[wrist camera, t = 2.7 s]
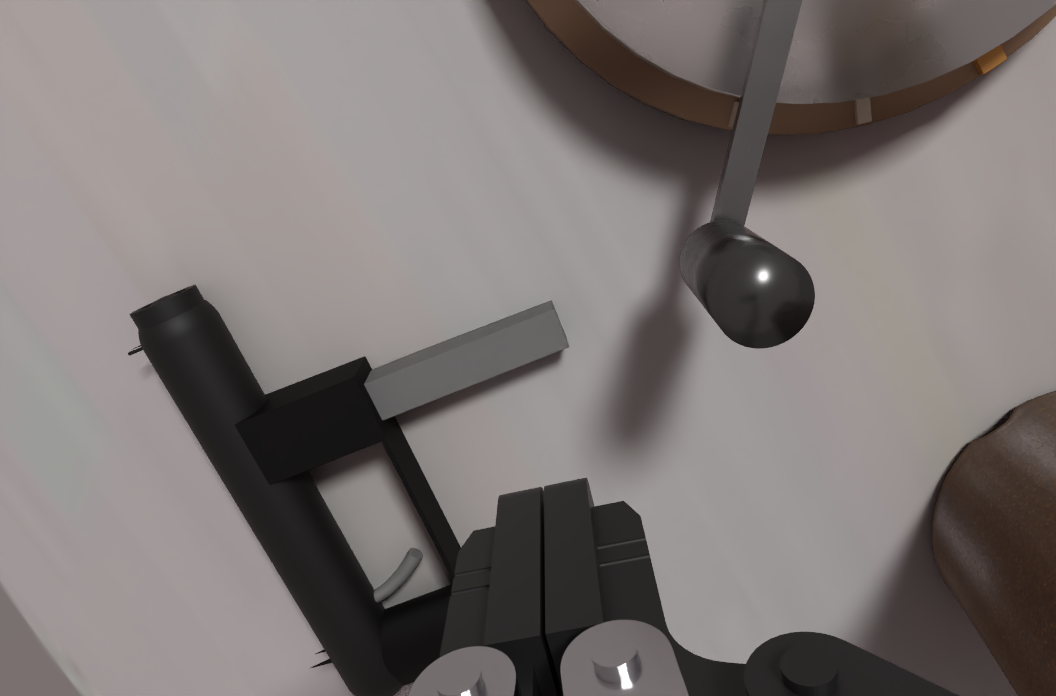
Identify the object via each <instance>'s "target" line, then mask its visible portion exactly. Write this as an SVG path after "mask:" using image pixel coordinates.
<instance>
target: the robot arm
mask: <svg viewBox="0 0 1056 696" xmlns="http://www.w3.org/2000/svg"><path fill="white" fill-rule="evenodd" d="M454 575H455V578H453V584H452V589H451V594H452V596H451V597H450V601H449V606H448V612H447V617H446V623H445V629H444V634H443V640H442V645H441V651H440V656H439V659H437V660H435V661H434V662H433V663H432V664H430V665H429V666H428V667H427V668H426V669H425V670H424V671H423V672H422V673H421V674H420V675H419V676H418V678H417V679H416V680H415V682H414V684H413V685H412V687H411V690H410V692H409V695H408V696H958V695H956V694H954V693H952V692H950V691H948V690H946V689H944V688H942V687H940V686H937V685H935V684H933V683H931V682H929V681H927V680H925V679H923V678H921V677H919V676H917V675H915V674H913V673H911V672H908V671H906V670H904V669H902V668H900V667H898V666H896V665H894V664H892V663H890V662H888V661H886V660H884V659H882V658H879V657H877V656H875V655H873V654H871V653H869V652H867V651H865V650H863V649H861V648H859V647H857V646H855V645H853V644H850V643H848V642H846V641H844V640H842V639H839V638H837V637H834V636H830V635H827V634H822V633H815V632H794V633H788V634H783V635H780V636H777V637H774V638H772V639H770V640H768V641H766V642H764V643H763V644H762V645H760V646H759V647H758V648H756V650H755V651H754V652H753V653H752V654H751V656H750V657H749V659H748V661H747V663H746V664H738V663H727V662H719V661H713V660H709V659H705V658H702V657H700V656H697V655H695V654H693V653H691V652H689V651H688V650H686V649H684V648H683V647H682V646H681V645H679V644H678V643H677V642H676V641H675V640H674V638H673V637H672V636H671V634H670V632H669V631H668V628H667V625H666V622H665V618H664V614H663V610H662V605H661V601H660V597H659V593H658V588H657V584H656V580H655V576H654V571H653V567H652V563H651V559H650V555H649V550H648V546H647V542H646V538H645V533H644V529H643V525H642V521H641V516H640V515H639V514H638V513H636V512H635V511H634V510H633V509H632V508H631V507H630V506H629V505H628V504H626V503H625V502H624V501H621V502H616V503H611V504H606V505H601V506H596V507H594V503H593V499H592V495H591V491H590V487H589V483H588V480H587V478H582V479H577V480H572V481H567V482H563V483H558V484H553V485H548V486H545V487H544V491H543V488H542V487H539V488H534V489H529V490H524V491H519V492H514V493H509V494H504V495H500V496H499V498H498V507H497V517H496V526H495V527H491V528H486V529H481V530H476V531H473V532H472V534H471V535H470V537H469V538H468V539H467V541H466V542H465V543H464V545H463V546H462V547H461V549H460V550H459V552H458V556H457V561H456V567H455V573H454Z"/></svg>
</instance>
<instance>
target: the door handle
mask: <svg viewBox="0 0 1056 696" xmlns="http://www.w3.org/2000/svg"><path fill="white" fill-rule="evenodd" d="M130 316H131V318H132V319H133V321H134V322H135V324H136V326H137V327H138V329H139V340H140V344H141V345H140V346H142V347H141V348H138V349H136V350H133V351H131V352H129V353H128V355H132V354H134V353H137V352H139V351H142V350H144V352H145V354H146V355H147V357H148V359H149V360H150V362H151V364H152V365H153V367H154V368H155V370H156V372H157V373H158V375H159V377H160V378H161V380H162V382H163V383H164V385H165V387H166V388H167V390H168V392H169V393H170V395H171V397H172V398H173V400H174V402H175V403H176V405H177V406H178V408H179V410H180V411H181V413H182V415H183V416H184V418H185V420H186V421H187V423H188V425H189V426H190V428H191V430H192V431H193V433H194V435H195V436H196V438H197V439H198V441H199V443H200V444H201V446H202V448H203V449H204V451H205V453H206V454H207V456H208V458H209V459H210V461H211V463H212V464H213V466H214V468H215V469H216V471H217V472H218V474H219V476H220V477H221V479H222V481H223V482H224V484H225V486H226V487H227V489H228V491H229V492H230V494H231V496H232V497H233V499H234V501H235V502H236V504H237V506H238V507H239V509H240V510H241V512H242V514H243V515H244V517H245V519H246V520H247V522H248V524H249V525H250V527H251V529H252V530H253V532H254V534H255V535H256V537H257V539H258V540H259V542H260V543H261V545H262V547H263V548H264V550H265V552H266V553H267V555H268V557H269V558H270V560H271V562H272V563H273V565H274V567H275V568H276V570H277V572H278V573H279V575H280V576H281V578H282V580H283V581H284V583H285V585H286V586H287V588H288V590H289V591H290V593H291V595H292V596H293V598H294V600H295V601H296V603H297V605H298V606H299V608H300V609H301V611H302V613H303V614H304V616H305V618H306V619H307V621H308V623H309V624H310V626H311V628H312V629H313V631H314V633H315V634H316V636H317V638H318V639H319V641H320V643H321V644H322V646H323V647H324V649H325V650H322V651H320V652H318V653H321V652H325V651H326V652H327V654H328V656H329V657H330V659H328V660H326V661H324V662H322V663H320V664H317V665H315V666H313V667H317V666H321V665H325V664H328V663H332V662H333V664H334V666H335V667H336V669H337V671H338V672H339V674H340V676H341V677H342V679H343V680H344V682H345V684H346V685H347V687H348V689H349V690H350V691H351V692H352V693H353V694H354V695H355V696H393V695H395V694H396V693H397V692H398V691H399V690H400V689H401V688H402V686H404V685H406V684H409V683H412V682H415V680H416V679H417V678H418V676H419V675H420V674H421V673H422V672H423V671H424V670H425V669H426V668H427V667H428V666H429V665H430V664H432V663H433V662H434V661H435V660H437V659H439V656H440V651H441V645H442V640H443V634H444V629H445V623H446V617H447V612H448V606H449V601H450V597H451V596H452V594H451V589H452V585H449V586H446V587H444V588H441V589H438V590H436V591H433V592H430V593H428V594H425V595H422V596H420V597H417V598H414V599H411V600H409V601H406V602H403V603H401V604H398V605H395V606H393V607H390V608H387V609H384V607H383V605H382V603H381V601H382V600H384V599H386V598H387V597H389V596H390V595H391V594H393V593H394V592H395V591H396V590H398V589H399V588H400V587H401V586H402V585H403V584H404V583H405V582H406V580H407V579H408V578H409V577H410V576H411V574H412V573H413V572H414V570H415V569H416V567H417V566H418V564H419V562H420V561H421V559H422V557H423V554H422V552H421V551H420V550H418V549H416V548H411V549H409V551H408V553H407V555H406V557H405V558H404V560H403V561H402V563H401V564H400V566H399V567H398V568H397V570H396V571H395V572H394V573H393V575H392V576H391V577H390V578H389V579H388V580H387V581H386V582H385V583H384V584H382V585H381V586H380V587H378V588H377V589H375V590H374V589H373V587H372V585H371V584H370V582H369V580H368V578H367V576H366V575H365V573H364V571H363V569H362V568H361V566H360V564H359V562H358V560H357V559H356V557H355V555H354V553H353V551H352V550H351V548H350V546H349V544H348V543H347V541H346V539H345V537H344V535H343V534H342V532H341V530H340V528H339V526H338V525H337V523H336V521H335V519H334V518H333V516H332V514H331V512H330V510H329V509H328V507H327V505H326V503H325V502H324V500H323V498H322V496H321V494H320V493H319V491H318V489H317V487H316V485H315V484H314V482H313V480H312V478H311V477H310V475H309V473H308V471H307V470H310V469H312V468H315V467H317V466H320V465H322V464H325V463H328V462H330V461H333V460H335V459H338V458H340V457H343V456H345V455H348V454H350V453H353V452H356V451H358V450H361V449H363V448H366V447H368V446H371V445H373V444H376V443H379V442H382V443H383V445H384V447H385V449H386V451H387V453H388V455H389V457H390V459H391V461H392V463H393V465H394V467H395V469H396V471H397V473H398V474H399V476H400V478H401V480H402V482H403V484H404V486H405V488H406V490H407V492H408V494H409V496H410V498H411V500H412V502H413V504H414V505H415V507H416V509H417V511H418V513H419V515H420V517H421V519H422V521H423V523H424V525H425V527H426V529H427V531H428V533H429V535H430V536H431V538H432V540H433V542H434V544H435V546H436V548H437V550H438V552H439V554H440V556H441V558H442V560H443V562H444V564H445V566H446V567H447V569H448V571H449V573H450V575H451V577H452V579H453V578H455V575H454V573H455V567H456V561H457V556H458V552H459V550H460V549H461V547H460V545H459V543H458V541H457V539H456V537H455V535H454V533H453V531H452V529H451V527H450V525H449V523H448V521H447V519H446V517H445V515H444V513H443V511H442V509H441V508H440V506H439V504H438V502H437V500H436V498H435V496H434V494H433V492H432V490H431V488H430V486H429V484H428V482H427V480H426V478H425V476H424V474H423V472H422V470H421V468H420V466H419V464H418V462H417V460H416V458H415V456H414V454H413V452H412V450H411V448H410V446H409V444H408V442H407V440H406V438H405V436H404V434H403V432H402V430H401V428H400V426H399V424H398V422H397V420H396V418H395V415H398V414H400V413H403V412H405V411H408V410H411V409H413V408H416V407H418V406H421V405H423V404H426V403H428V402H431V401H433V400H436V399H438V398H441V397H444V396H446V395H449V394H451V393H454V392H456V391H459V390H461V389H464V388H466V387H469V386H471V385H474V384H477V383H479V382H482V381H484V380H487V379H489V378H492V377H494V376H497V375H499V374H502V373H504V372H507V371H509V370H512V369H515V368H517V367H520V366H522V365H525V364H527V363H530V362H532V361H535V360H537V359H540V358H542V357H545V356H548V355H550V354H553V353H555V352H558V351H560V350H563V349H565V348H568V347H569V344H568V341H567V338H566V335H565V333H564V330H563V328H562V325H561V323H560V320H559V318H558V315H557V313H556V311H555V308H554V306H553V303H552V301H548V302H546V303H543V304H541V305H538V306H535V307H533V308H530V309H527V310H525V311H522V312H520V313H517V314H514V315H512V316H509V317H506V318H504V319H501V320H499V321H496V322H493V323H491V324H488V325H486V326H483V327H480V328H478V329H475V330H472V331H470V332H467V333H465V334H462V335H459V336H457V337H454V338H452V339H449V340H446V341H444V342H441V343H438V344H436V345H433V346H431V347H428V348H425V349H423V350H420V351H418V352H415V353H413V354H410V355H408V356H405V357H403V358H400V359H398V360H395V361H393V362H390V363H388V364H385V365H383V366H380V367H378V368H375V369H373V370H372V369H371V367H370V365H369V363H368V361H367V359H366V357H362V358H359V359H357V360H354V361H352V362H349V363H346V364H344V365H341V366H339V367H336V368H333V369H331V370H328V371H326V372H323V373H321V374H318V375H315V376H313V377H310V378H308V379H305V380H302V381H300V382H297V383H295V384H292V385H289V386H287V387H284V388H282V389H279V390H276V391H274V392H271V393H269V394H266V395H265V394H264V393H263V391H262V389H261V387H260V386H259V384H258V382H257V380H256V378H255V377H254V375H253V373H252V371H251V370H250V368H249V366H248V364H247V362H246V361H245V359H244V357H243V355H242V353H241V352H240V350H239V348H238V346H237V345H236V343H235V341H234V339H233V337H232V336H231V334H230V332H229V330H228V328H227V327H226V325H225V323H224V321H223V320H222V318H221V316H220V314H219V313H218V311H217V310H216V309H215V308H214V307H213V306H212V305H211V304H210V303H209V302H207V301H206V300H204V299H203V297H202V295H201V294H200V292H199V290H198V288H197V286H196V285H193V286H190V287H187V288H185V289H182V290H180V291H177V292H175V293H173V294H170V295H168V296H165V297H162V298H160V299H158V300H157V301H155V302H153V303H150V304H148V305H146V306H144V307H142V308H140V309H138V310H136V311H134V312H132V313H131V314H130ZM140 346H138V347H140ZM136 348H137V347H136ZM133 349H134V348H133ZM131 350H132V349H131ZM316 654H317V653H316ZM313 667H311V668H313Z"/></svg>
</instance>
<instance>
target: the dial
mask: <svg viewBox="0 0 1056 696" xmlns="http://www.w3.org/2000/svg"><path fill="white" fill-rule="evenodd" d="M573 1H574V2H575V3H576V4H577V5H578V6H579V7H580V8H581V9H582V10H583V11H584V12H585V13H586V15H587V16H588V17H589V18H590V19H591V20H592V21H593V22H594V23H595V24H596V25H597V26H598V27H599V28H600V29H601V30H602V31H603V32H605V33H606V34H607V35H608V36H610V37H611V38H612V39H614V40H615V41H616V42H617V43H619V44H620V45H621V46H622V47H624V48H625V49H626V50H628V51H629V52H630V53H631V54H633V55H634V56H636V57H637V58H639V59H641V60H643V61H644V62H646V63H648V64H650V65H651V66H653V67H655V68H656V69H658V70H660V71H662V72H663V73H665V74H667V75H669V76H671V77H674V78H676V79H678V80H681V81H683V82H686V83H688V84H691V85H693V86H696V87H698V88H701V89H703V90H706V91H710V92H714V93H718V94H722V95H727V96H731V97H735V98H739V99H740V101H739V105H738V109H737V113H736V117H735V121H734V125H733V130H732V134H731V138H730V142H729V146H728V150H727V154H726V158H725V163H724V167H723V171H722V175H721V179H720V183H719V187H718V191H717V196H716V200H715V204H714V208H713V212H712V216H711V220H710V223H707V224H705V225H703V226H701V227H699V228H698V229H696V230H695V231H694V232H693V233H692V234H691V235H690V236H689V237H688V239H687V240H686V242H685V243H684V246H683V248H682V251H681V254H680V271H681V275H682V277H683V279H684V281H685V283H686V284H687V286H688V287H689V288H690V289H691V291H692V292H693V294H694V295H695V296H696V297H697V299H698V300H699V301H700V302H701V304H702V305H703V306H704V308H705V309H706V310H707V312H708V313H709V314H710V315H711V317H712V318H713V319H714V321H715V322H716V323H717V325H718V326H719V327H720V328H721V330H722V331H723V332H724V334H725V335H726V336H728V337H729V338H730V339H731V340H733V341H734V342H736V343H738V344H740V345H743V346H745V347H750V348H768V347H773V346H777V345H779V344H782V343H784V342H786V341H787V340H789V339H791V338H792V337H793V336H795V335H796V334H797V333H798V332H799V331H800V330H801V329H802V328H803V327H804V325H805V324H806V322H807V321H808V319H809V317H810V315H811V312H812V310H813V305H814V299H815V292H814V285H813V282H812V279H811V277H810V275H809V273H808V271H807V270H806V269H805V267H804V266H803V265H802V264H801V263H799V262H798V261H797V260H796V259H794V258H792V257H791V256H789V255H788V254H786V253H785V252H783V251H782V250H780V249H778V248H777V247H775V246H774V245H772V244H771V243H769V242H768V241H766V240H764V239H763V238H761V237H760V236H758V235H757V234H755V233H754V232H752V231H751V230H749V229H747V228H746V227H744V225H745V221H746V217H747V213H748V209H749V205H750V201H751V198H752V194H753V190H754V186H755V182H756V178H757V174H758V170H759V167H760V163H761V159H762V155H763V151H764V147H765V143H766V139H767V136H768V132H769V128H770V124H771V120H772V116H773V112H774V108H775V105H776V103H782V104H812V103H837V102H846V101H852V100H857V99H863V98H869V97H875V96H880V95H885V94H889V93H892V92H895V91H898V90H902V89H905V88H908V87H911V86H915V85H918V84H921V83H924V82H927V81H930V80H932V79H934V78H937V77H939V76H941V75H943V74H945V73H948V72H950V71H952V70H954V69H957V68H959V67H961V66H963V65H966V64H968V63H970V62H972V61H974V60H975V59H977V58H979V57H980V56H982V55H984V54H985V53H987V52H989V51H990V50H992V49H994V48H995V47H997V46H999V45H1000V44H1002V43H1004V42H1006V41H1007V40H1009V39H1011V38H1012V37H1014V36H1015V35H1016V34H1018V33H1019V32H1020V31H1022V30H1023V29H1024V28H1026V27H1027V26H1028V25H1030V24H1031V23H1032V22H1034V21H1035V20H1036V19H1038V18H1039V17H1040V16H1042V15H1043V14H1044V13H1046V12H1047V11H1048V10H1049V9H1051V8H1052V7H1053V6H1055V5H1056V0H573Z"/></svg>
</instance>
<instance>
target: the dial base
mask: <svg viewBox="0 0 1056 696" xmlns="http://www.w3.org/2000/svg"><path fill="white" fill-rule="evenodd" d="M526 1H527V2H528V4H529V5H530V6H531V8H532V9H533V10H534V12H535V13H536V14H537V15H538V17H539V18H540V19H541V21H542V22H543V23H544V25H545V26H546V27H547V29H548V30H549V31H550V32H551V33H552V34H553V35H554V36H555V37H556V38H557V39H558V40H559V41H560V42H561V43H562V44H563V45H564V46H565V47H566V48H567V49H568V50H569V51H570V52H571V53H572V54H573V55H574V56H575V57H576V58H577V59H578V60H579V61H580V62H582V63H583V64H584V65H586V66H587V67H588V68H589V69H591V70H592V71H593V72H595V73H596V74H597V75H598V76H600V77H601V78H602V79H604V80H605V81H606V82H608V83H609V84H610V85H612V86H614V87H615V88H617V89H619V90H621V91H622V92H624V93H626V94H628V95H629V96H631V97H633V98H635V99H636V100H638V101H640V102H642V103H643V104H645V105H648V106H650V107H653V108H655V109H658V110H660V111H663V112H665V113H668V114H670V115H673V116H675V117H678V118H681V119H684V120H688V121H692V122H696V123H701V124H705V125H709V126H713V127H717V128H722V129H727V130H733V125H734V121H735V117H736V113H737V109H738V105H739V101H740V99H739V98H735V97H731V96H727V95H722V94H718V93H714V92H710V91H706V90H703V89H701V88H698V87H696V86H693V85H691V84H688V83H686V82H683V81H681V80H678V79H676V78H674V77H671V76H669V75H667V74H665V73H663V72H662V71H660V70H658V69H656V68H655V67H653V66H651V65H650V64H648V63H646V62H644V61H643V60H641V59H639V58H637V57H636V56H634V55H633V54H631V53H630V52H629V51H628V50H626V49H625V48H624V47H622V46H621V45H620V44H619V43H617V42H616V41H615V40H614V39H612V38H611V37H610V36H608V35H607V34H606V33H605V32H603V31H602V30H601V29H600V28H599V27H598V26H597V25H596V24H595V23H594V22H593V21H592V20H591V19H590V18H589V17H588V16H587V15H586V13H585V12H584V11H583V10H582V9H581V8H580V7H579V6H578V5H577V4H576V3H575V2H574V1H573V0H526ZM1055 16H1056V5H1055V6H1053V7H1052V8H1051V9H1049V10H1048V11H1047V12H1046V13H1044V14H1043V15H1042V16H1040V17H1039V18H1038V19H1036V20H1035V21H1034V22H1032V23H1031V24H1030V25H1028V26H1027V27H1026V28H1024V29H1023V30H1022V31H1020V32H1019V33H1018V34H1016V35H1015V36H1014V37H1012V38H1011V39H1009V40H1007V41H1006V42H1004V43H1002V44H1000V45H999V46H997V47H995V48H994V49H992V50H990V51H989V52H987V53H985V54H984V55H982V56H980V57H979V58H977V59H975V60H974V61H972V62H970V63H968V64H966V65H963V66H961V67H959V68H957V69H954V70H952V71H950V72H948V73H945V74H943V75H941V76H939V77H937V78H934V79H932V80H930V81H927V82H924V83H921V84H918V85H915V86H911V87H908V88H905V89H902V90H898V91H895V92H892V93H889V94H885V95H880V96H875V97H869V98H863V99H857V100H852V101H846V102H837V103H812V104H782V103H776V105H775V108H774V112H773V116H772V120H771V124H770V128H769V132H768V134H773V135H784V134H811V133H823V132H829V131H835V130H841V129H846V128H852V127H858V126H863V125H867V124H870V123H873V122H877V121H880V120H883V119H886V118H890V117H893V116H896V115H899V114H903V113H906V112H908V111H911V110H913V109H915V108H917V107H920V106H922V105H924V104H926V103H929V102H931V101H933V100H935V99H938V98H940V97H942V96H944V95H947V94H949V93H951V92H953V91H954V90H956V89H958V88H959V87H961V86H963V85H964V84H966V83H968V82H969V81H971V80H973V79H975V78H976V77H978V76H980V75H981V74H985V73H987V72H988V71H990V70H991V69H993V68H994V67H996V66H997V65H999V64H1000V63H1002V62H1003V61H1005V60H1006V59H1007V57H1008V56H1009V55H1010V54H1012V53H1013V52H1014V51H1016V50H1017V49H1018V48H1020V47H1021V46H1022V45H1024V44H1025V43H1026V42H1028V41H1029V40H1030V39H1032V38H1033V37H1034V36H1035V35H1036V34H1037V33H1038V32H1039V31H1040V30H1041V29H1043V28H1044V27H1045V26H1046V25H1047V24H1048V23H1049V22H1050V21H1051V20H1052V19H1053V18H1054V17H1055Z"/></svg>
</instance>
